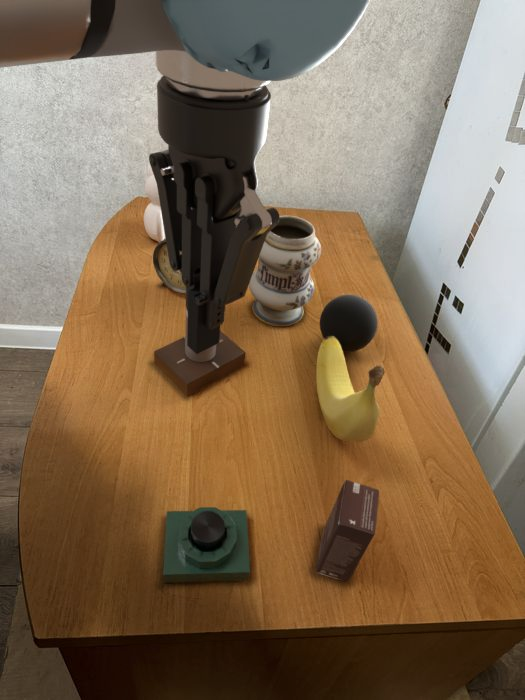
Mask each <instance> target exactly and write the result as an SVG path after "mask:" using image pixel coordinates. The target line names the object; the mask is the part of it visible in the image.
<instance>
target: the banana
mask: <svg viewBox="0 0 525 700" xmlns="http://www.w3.org/2000/svg"><path fill="white" fill-rule="evenodd" d="M315 372H316V374H315V376H316V377H315V378H316V391H317V398H318V403H319V407H320V409H321V413H322V416H323V419H324V422H325V424H326V426H327V429H328V430H329V431H330V432H331V434H332V435H333V436H334V437H335V438H337V439H338V440H341V441H343V442H350V443H358V442H365V441H367V440H369V439H370V438H371V437H372V436H373V435H374V433H375V431H376V427H377V424H378V421H379V417H380V405H379V404H378V402H377V399H376V395H375V391H376V387H377V386H379V385H380V383H381V382H382V380H383V377H384V375H385V372H386V371H385V368H384V366H382V365H380V364H379V365H376V366H374V367H373V368H370V369H369V370H368V381H367V382H368V383H367V385H366V387H365V388H364V389H362V390H361V391H357V392H355V390H354V387H353V384H352V381H351V377H350V375H349V371H348V367H347V363H346V358H345V354H344V351H342V348H341V345H340V343H339V341H338V340H337V339H336V337H335V336H327V337H326V338H325V339H324V338H323V340H322V342H321V344H320V346H319V349H318V352H317V358H316V371H315Z"/></svg>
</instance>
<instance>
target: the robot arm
mask: <svg viewBox="0 0 525 700" xmlns="http://www.w3.org/2000/svg"><path fill="white" fill-rule="evenodd" d="M370 3H371V0H0V69H1V68H9V67H19V66H26V65H35V64H45V63H54V62H63V61H71V60H80V59H87V58H102V57H112V56H113V57H114V56H123V55H135V54H145V53H153V52H155V53H154V55H155V57H154V59H155V66H156V70H157V71H158V72H159V74H160V75H161V77H160V79H159V80H158V82H157V84H156V99H157V101H156V104H157V130H158V131H157V132H158V134H159V136H160V138H161V140H162V141H163V142H164V143H165V144H166V145H167V149H165V150H161V151H156V152H153V153H149V154H148V155H149V156H148V161H149V165H151V168H152V171H153V174H154V177H155V180H156V183H157V188H158V194H159V200H160V207H161V213H162V219H163V225H164V232H165V238H166V244H167V251H168V257H169V263H170V266H171V268H172V269H173V270H174V271H177V270H179V271H180V272H181V273H182V282H183V284H184V285H185V286H186V294H185V309H186V310H187V311H188V328H187V346H188V347H189V348H190V349H191V350H193V351H194V352H195V353H196V354H198V353H200V352H202V351H204V350H206V349H208V348H210V347H212V346H214V345H216V344H218V343H219V338H220V331H221V326H222V325H223V324H224V322H225V316H226V315H225V314H226V313H225V312H226V306H227V305H229V304H232V303H234V302H236V301H238V300H240V299H243V298H244V297H245V296H246V294H247V291H248V288H249V283H250V280H251V277H252V274H253V273H254V272H255V270H256V266H257V263H258V262H259V255H260V252H261V250H262V247H263V244H264V241H265V239H266V236H267V234H268V233H269V232H270V231H271V230H272V229H273V228H274V227H275V226H276V225H277V224H278V222H279V220H280V217H279V216H280V214H279V213H280V212H279V211H278V210H277V209H276V208H275V207H269V208H266V207H265V206H264V204H263V203H262V201H261V198H260V197H259V196H258V194H257V192H256V191H257V189H258V185H259V180H258V179H259V178H258V174H257V171H256V170H257V169H256V159H257V157H258V155H259V153H260V151H261V150H262V148H263V146H265V143H266V141H267V136H268V135H267V133H268V125H269V117H270V107H271V99H272V95H271V92H270V90H269V89H268V88H269V87H267V86H266V85H268V84H269V83H270V82H281V81H287V80H291V79H294V78H296V77H299V76H302V75H304V74H306V73H309V71H312V70H314V68H316V67H318V66H319V65H320V64H321V63H323V62H324V61H325V60H327V59H328V58H329V57H330V56H331V55H332V54H334V53H335V52H336V51H337V50H338V49H339V48H340V47H341V46H342V44H343V43H344V42H345V41H346V39H348V37H349V36H350V35H351V33H352V32H353V30H355V27H356V26H357V25H358V24H359V22H360V20H361V19H362V17H363V15H364V14H365V12H366V10H367V8H368V6H369V5H370ZM173 178H174V180H172V179H173ZM180 251H182V254H180Z"/></svg>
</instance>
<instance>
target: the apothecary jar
mask: <svg viewBox="0 0 525 700" xmlns="http://www.w3.org/2000/svg"><path fill="white" fill-rule="evenodd" d="M279 217H280V220H279V222H278V224H277V225H276V226H275V227H274V228H273V229H272V230H271V231H270V232H269V233H268V234H267V236H266V239H265V241H264V244H263V247H262V250H261V252H260V255H259V258H258V264H257V269H255V270H254V272H253V274H252V277H251V280H250V283H249V285H248V288H249V291H250V293H251V296H253V298H254V299H255V300H254V301H253V303H252V307H251V308H252V312H253V314H254V315H255V317H256V318H257V319H258V320H259V321H261V322H263V323H265V324H267V325H270V326H273V327H289V326H293V325H295V324H297V323H299V321H301V319H302V318H303V316H304V312H305V311H304V306H305V305H307V304H308V303H309V302H310V301H311V300H312V298H313V296H314V295H315V294H314V293H315V284H314V280H313V279H312V277H311V269H312V266H314V265H315V264H317V262H318V261H319V260H320V257H321V254H322V245H321V242H320V241H319V239H318V238H317V236H316V230H315V227H314V225H313V224H312V223H311V222H309V221H308V220H306V219H304V218H302V217H299V216H295V215H279Z"/></svg>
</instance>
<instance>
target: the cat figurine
mask: <svg viewBox="0 0 525 700" xmlns="http://www.w3.org/2000/svg"><path fill="white" fill-rule="evenodd" d="M146 170H147V171H146V173H147V174H146V175H147V178H146V180H145V185H144V192H145V195H146V197H147V198H148V200H149V201H150V202H149V203H148V205H147V206H146V207H145V210H144V213H143V225H144V229H145V231H146V233H147V235H148V236H149V238H150V239H152V240H154V241H156V242H157V243H160V242H161V241H163V240H164V239H166V238H165V232H164V225H163V219H162V213H161V207H160V200H159V194H158V188H157V183H156V180H155V177H154V174H153V171H152V168H151V165H150V164H148V166H147V169H146ZM172 180H174V178H173V179H172Z"/></svg>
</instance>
